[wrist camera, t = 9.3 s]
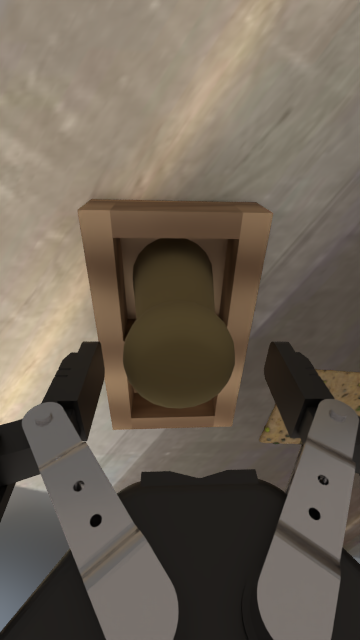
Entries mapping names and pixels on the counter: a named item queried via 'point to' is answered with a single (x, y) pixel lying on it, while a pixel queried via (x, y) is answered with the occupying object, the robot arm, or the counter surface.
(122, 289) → the caddy
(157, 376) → the olive game pawn
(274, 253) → the counter surface
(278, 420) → the tan speckled flat square
